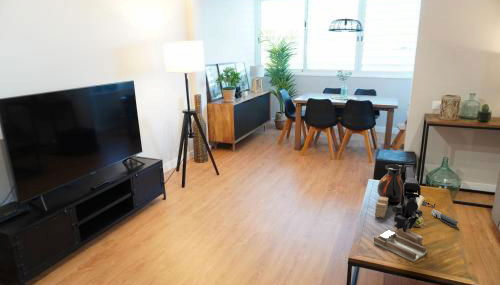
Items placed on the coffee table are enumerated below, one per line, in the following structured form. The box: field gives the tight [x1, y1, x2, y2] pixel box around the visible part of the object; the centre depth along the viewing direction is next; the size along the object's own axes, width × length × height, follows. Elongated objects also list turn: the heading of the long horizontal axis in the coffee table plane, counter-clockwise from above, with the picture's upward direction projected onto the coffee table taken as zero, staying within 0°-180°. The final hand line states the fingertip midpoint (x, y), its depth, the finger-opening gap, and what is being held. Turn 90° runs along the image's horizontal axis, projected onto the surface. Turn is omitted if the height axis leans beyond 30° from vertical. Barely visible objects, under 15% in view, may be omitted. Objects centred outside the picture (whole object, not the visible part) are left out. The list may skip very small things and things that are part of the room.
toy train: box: [374, 196, 388, 219], centre depth 234 cm, size 6×17×10 cm, turn 151°
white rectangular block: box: [379, 229, 396, 242], centre depth 200 cm, size 9×4×4 cm, turn 128°
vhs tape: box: [421, 200, 436, 209], centre depth 249 cm, size 14×8×2 cm, turn 148°
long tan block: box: [397, 228, 424, 246], centre depth 201 cm, size 5×14×5 cm, turn 25°
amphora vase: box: [376, 163, 404, 207], centre depth 248 cm, size 22×22×28 cm
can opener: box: [431, 208, 459, 228], centre depth 223 cm, size 19×6×5 cm, turn 17°
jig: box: [373, 230, 428, 263], centre depth 194 cm, size 14×24×4 cm, turn 36°
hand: (407, 230), depth 190 cm, fingers open, 5 cm apart
